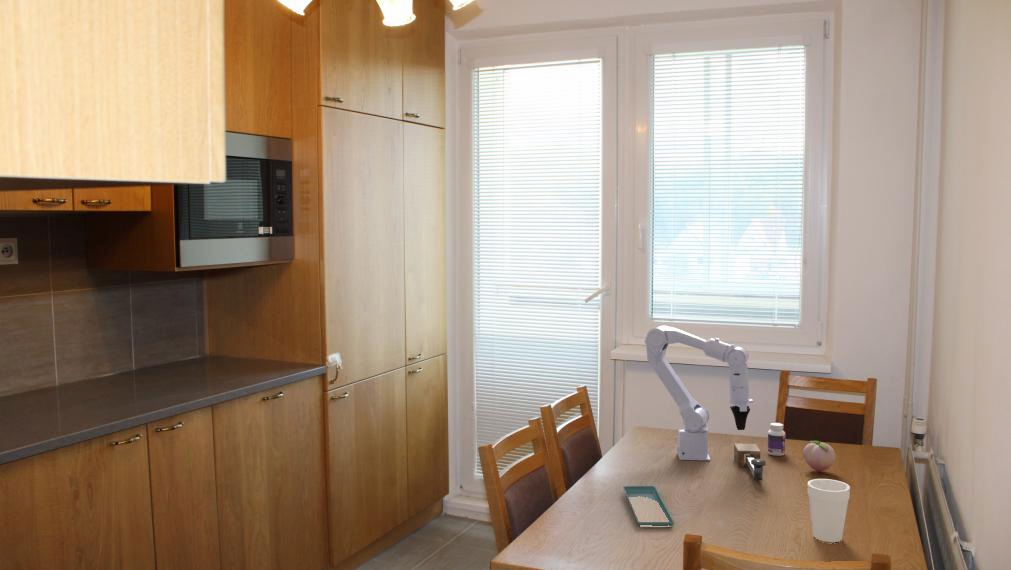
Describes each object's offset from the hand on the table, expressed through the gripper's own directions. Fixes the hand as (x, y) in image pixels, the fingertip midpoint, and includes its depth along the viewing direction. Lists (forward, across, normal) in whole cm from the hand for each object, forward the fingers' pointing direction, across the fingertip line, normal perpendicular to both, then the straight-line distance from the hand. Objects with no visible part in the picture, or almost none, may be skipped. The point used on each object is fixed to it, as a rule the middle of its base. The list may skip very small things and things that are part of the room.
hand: (740, 429), depth 254 cm
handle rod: (+10, -13, -1) cm, 16 cm away
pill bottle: (+11, +11, -12) cm, 20 cm away
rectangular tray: (+10, -44, +31) cm, 55 cm away
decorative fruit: (+12, -7, -21) cm, 25 cm away
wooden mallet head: (+10, 0, -1) cm, 11 cm away
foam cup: (+12, -59, -10) cm, 62 cm away
